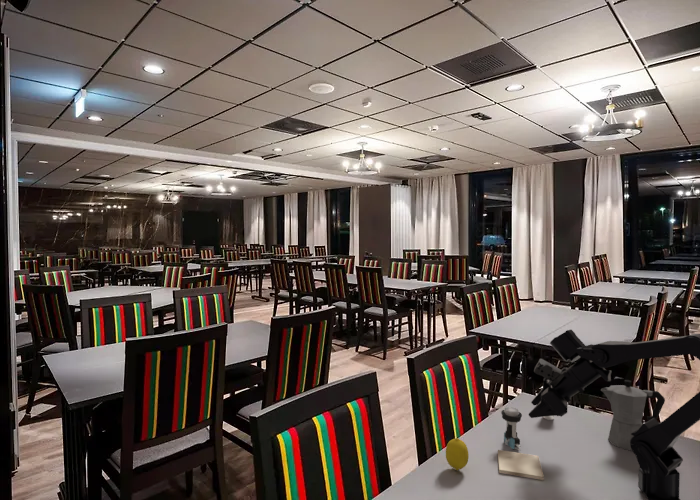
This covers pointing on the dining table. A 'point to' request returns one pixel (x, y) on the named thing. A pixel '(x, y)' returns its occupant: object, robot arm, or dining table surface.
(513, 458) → the birch pad
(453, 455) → the lemon
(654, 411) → the coffeepot
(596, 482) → the dining table surface
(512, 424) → the push button
